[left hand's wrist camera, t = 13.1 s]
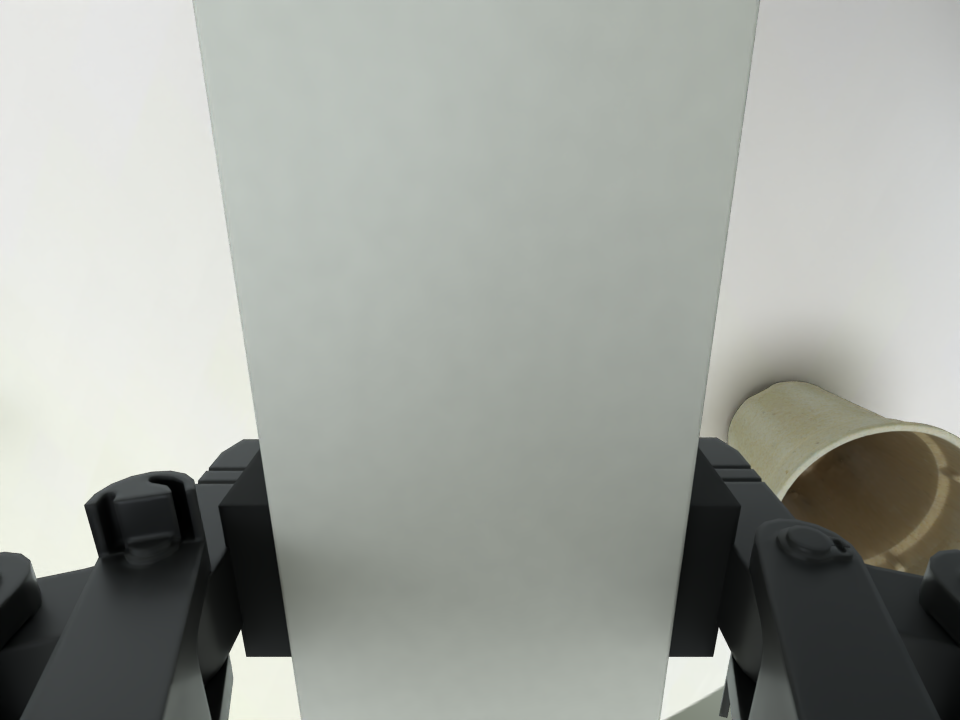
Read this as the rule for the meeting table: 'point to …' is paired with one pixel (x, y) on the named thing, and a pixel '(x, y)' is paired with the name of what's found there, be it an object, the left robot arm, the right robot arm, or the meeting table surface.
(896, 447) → the flower pot
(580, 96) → the bar
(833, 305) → the meeting table surface
